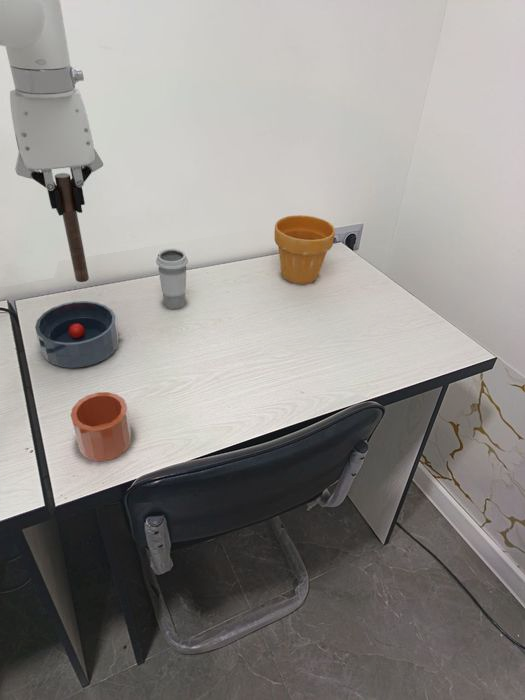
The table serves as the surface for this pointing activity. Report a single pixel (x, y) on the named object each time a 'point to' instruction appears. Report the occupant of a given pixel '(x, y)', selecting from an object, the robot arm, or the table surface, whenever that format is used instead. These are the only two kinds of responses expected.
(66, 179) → the stick
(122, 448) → the holder
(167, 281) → the cup
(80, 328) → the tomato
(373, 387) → the table surface
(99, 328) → the bowl
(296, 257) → the flower pot
